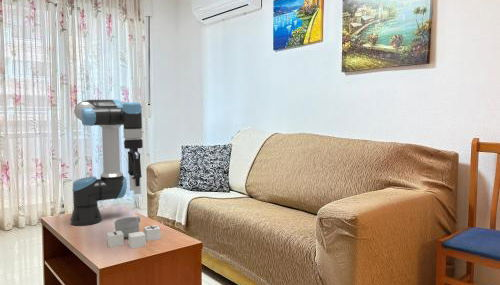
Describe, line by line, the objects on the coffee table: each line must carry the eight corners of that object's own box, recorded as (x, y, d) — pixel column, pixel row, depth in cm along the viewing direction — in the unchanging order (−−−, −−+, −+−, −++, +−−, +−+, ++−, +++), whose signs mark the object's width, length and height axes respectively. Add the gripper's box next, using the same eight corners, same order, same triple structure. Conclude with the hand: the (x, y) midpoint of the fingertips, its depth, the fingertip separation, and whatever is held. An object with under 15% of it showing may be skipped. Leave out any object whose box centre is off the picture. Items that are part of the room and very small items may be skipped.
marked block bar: (107, 243, 163) (106, 232, 163) (121, 241, 166) (121, 230, 165) (109, 248, 158) (108, 236, 157) (123, 245, 161) (123, 233, 160)
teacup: (124, 241, 166) (124, 223, 165) (110, 237, 172) (109, 220, 171) (149, 233, 177) (149, 216, 176) (135, 229, 183) (134, 213, 183)
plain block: (128, 244, 162) (128, 233, 161) (142, 242, 164) (142, 231, 164) (131, 248, 156) (131, 237, 156) (145, 246, 159) (145, 235, 159)
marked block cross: (144, 237, 171) (143, 226, 170) (157, 235, 173) (156, 224, 173) (147, 241, 165) (147, 230, 165) (160, 239, 168) (160, 227, 168)
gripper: (147, 139, 150) (149, 195, 151) (137, 137, 168) (139, 187, 170) (128, 140, 146) (130, 197, 148) (119, 138, 164) (121, 188, 166)
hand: (135, 192), depth 159 cm, fingers open, 8 cm apart
